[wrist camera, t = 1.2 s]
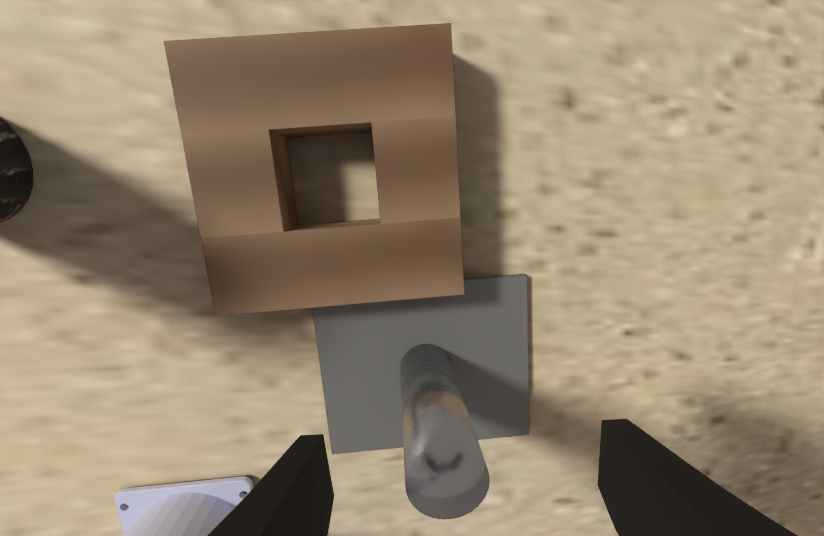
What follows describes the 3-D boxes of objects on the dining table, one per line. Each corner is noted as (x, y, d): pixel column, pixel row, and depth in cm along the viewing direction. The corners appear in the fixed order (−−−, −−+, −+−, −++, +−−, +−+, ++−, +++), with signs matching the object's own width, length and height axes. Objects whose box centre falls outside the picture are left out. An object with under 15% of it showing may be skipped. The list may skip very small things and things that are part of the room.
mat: (526, 430, 24) (529, 434, 24) (332, 450, 24) (331, 454, 24) (524, 273, 22) (526, 275, 22) (312, 292, 22) (310, 293, 22)
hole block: (454, 279, 22) (464, 294, 19) (239, 298, 22) (215, 315, 19) (442, 47, 20) (451, 23, 17) (198, 62, 19) (163, 41, 16)
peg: (453, 389, 23) (490, 514, 14) (402, 394, 23) (408, 523, 14) (450, 341, 22) (487, 441, 14) (397, 346, 22) (402, 450, 14)
